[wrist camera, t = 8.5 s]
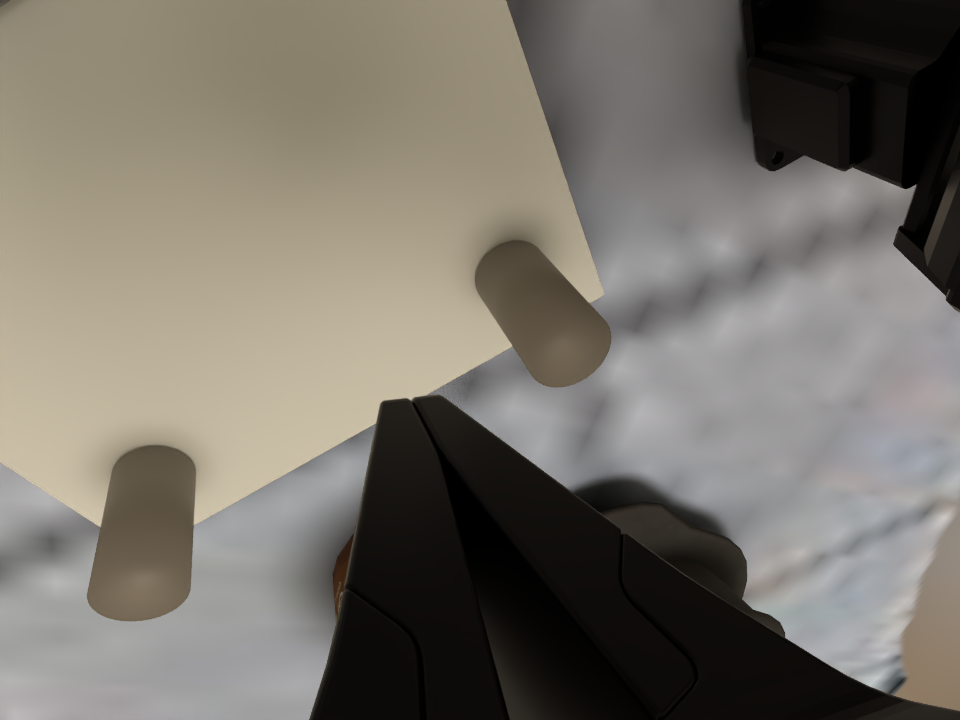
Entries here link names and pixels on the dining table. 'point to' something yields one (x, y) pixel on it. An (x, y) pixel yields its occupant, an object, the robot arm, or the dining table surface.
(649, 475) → the dining table surface
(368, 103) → the cream square peg board
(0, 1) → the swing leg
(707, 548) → the casserole
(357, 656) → the robot arm
